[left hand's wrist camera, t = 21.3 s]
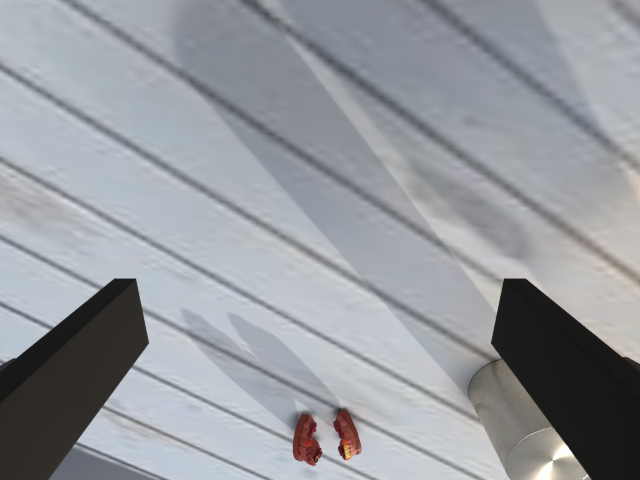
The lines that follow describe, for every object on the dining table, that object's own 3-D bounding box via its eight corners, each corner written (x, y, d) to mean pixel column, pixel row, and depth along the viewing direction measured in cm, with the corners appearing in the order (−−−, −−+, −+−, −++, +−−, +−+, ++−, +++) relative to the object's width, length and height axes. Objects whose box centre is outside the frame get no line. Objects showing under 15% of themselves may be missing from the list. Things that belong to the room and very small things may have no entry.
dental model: (364, 472, 41) (296, 477, 41) (361, 441, 45) (299, 446, 45) (359, 435, 39) (288, 441, 39) (356, 406, 43) (292, 412, 43)
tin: (453, 388, 42) (486, 461, 33) (514, 344, 39) (567, 411, 31) (497, 426, 44) (539, 504, 35) (557, 386, 41) (619, 460, 33)
